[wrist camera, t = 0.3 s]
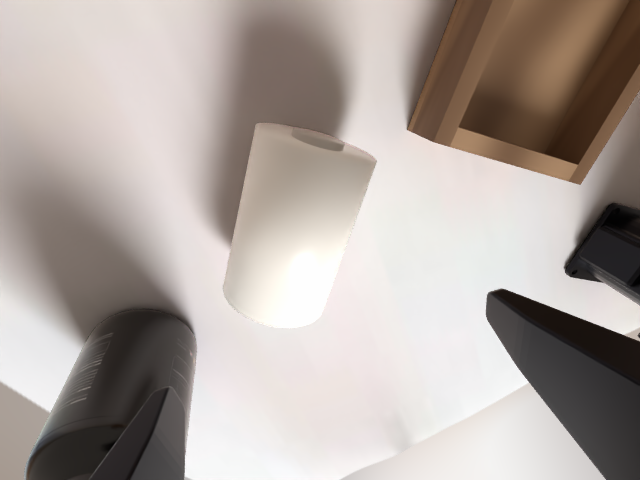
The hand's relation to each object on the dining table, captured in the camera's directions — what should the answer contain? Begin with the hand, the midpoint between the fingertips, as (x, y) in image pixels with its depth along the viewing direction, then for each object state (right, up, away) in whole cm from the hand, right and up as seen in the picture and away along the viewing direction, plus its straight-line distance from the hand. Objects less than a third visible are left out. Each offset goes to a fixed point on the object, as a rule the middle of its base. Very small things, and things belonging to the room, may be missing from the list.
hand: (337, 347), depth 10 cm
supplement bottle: (-12, -4, +14) cm, 19 cm away
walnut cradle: (+11, +15, +10) cm, 21 cm away
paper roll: (-2, +4, +9) cm, 10 cm away
